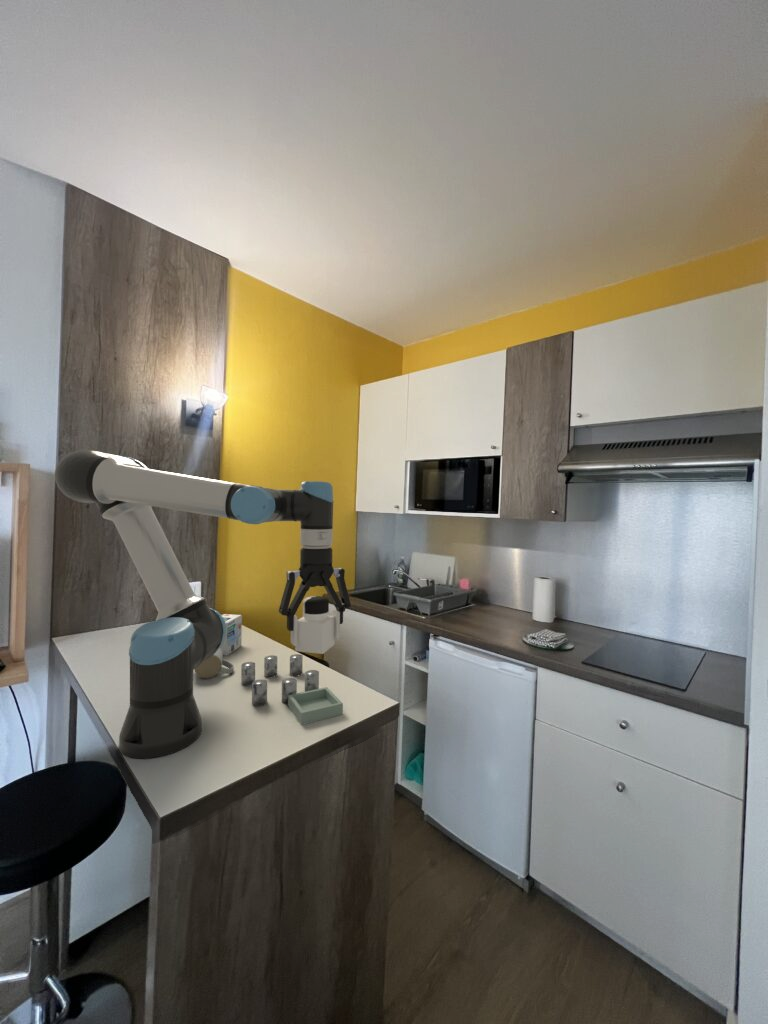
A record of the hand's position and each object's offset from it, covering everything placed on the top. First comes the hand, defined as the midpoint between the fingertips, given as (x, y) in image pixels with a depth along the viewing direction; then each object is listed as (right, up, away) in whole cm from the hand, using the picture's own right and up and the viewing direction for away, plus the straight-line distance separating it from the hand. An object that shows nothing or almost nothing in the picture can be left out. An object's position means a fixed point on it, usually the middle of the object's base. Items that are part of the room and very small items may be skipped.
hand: (315, 640), depth 100 cm
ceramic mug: (-33, -16, +21) cm, 42 cm away
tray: (0, -16, 0) cm, 16 cm away
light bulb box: (-37, -16, +41) cm, 57 cm away
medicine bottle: (0, -2, 0) cm, 2 cm away
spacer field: (-12, -16, +13) cm, 24 cm away
